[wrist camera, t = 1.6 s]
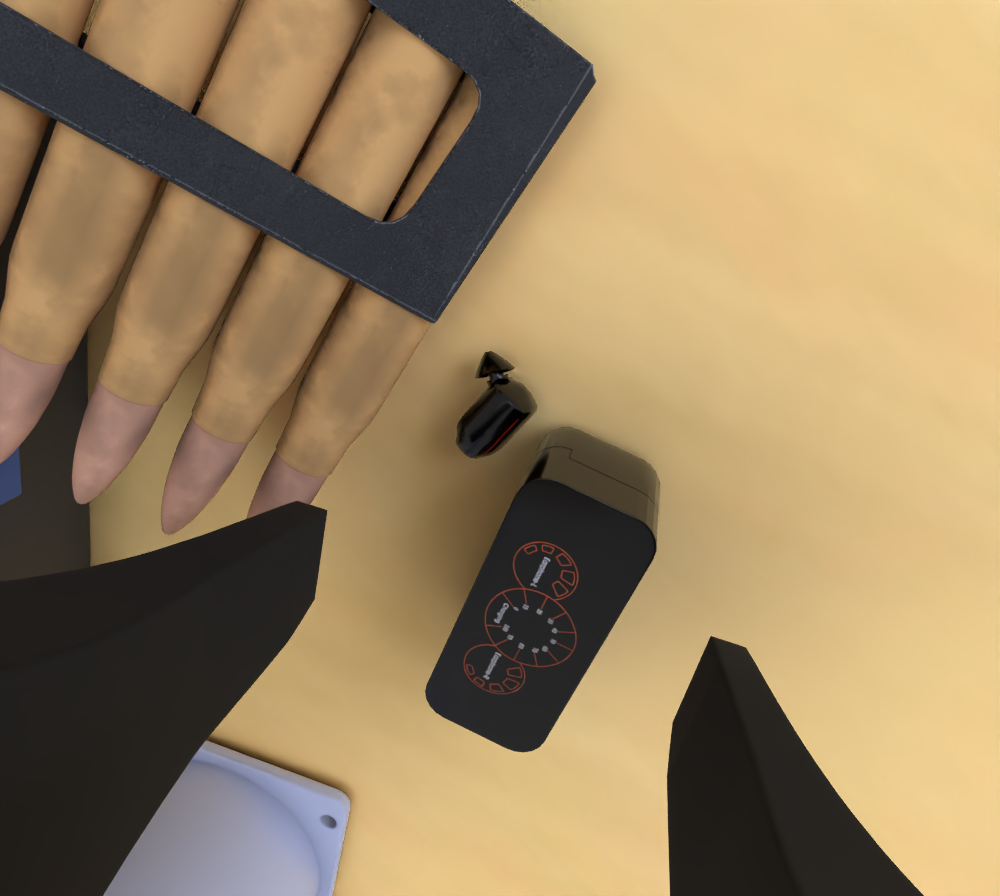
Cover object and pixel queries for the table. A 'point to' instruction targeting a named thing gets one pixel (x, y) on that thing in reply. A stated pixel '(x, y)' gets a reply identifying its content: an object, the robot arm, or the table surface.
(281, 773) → the robot arm
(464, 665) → the wireless earbuds
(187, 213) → the ammunition clip
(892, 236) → the table surface
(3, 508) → the container
